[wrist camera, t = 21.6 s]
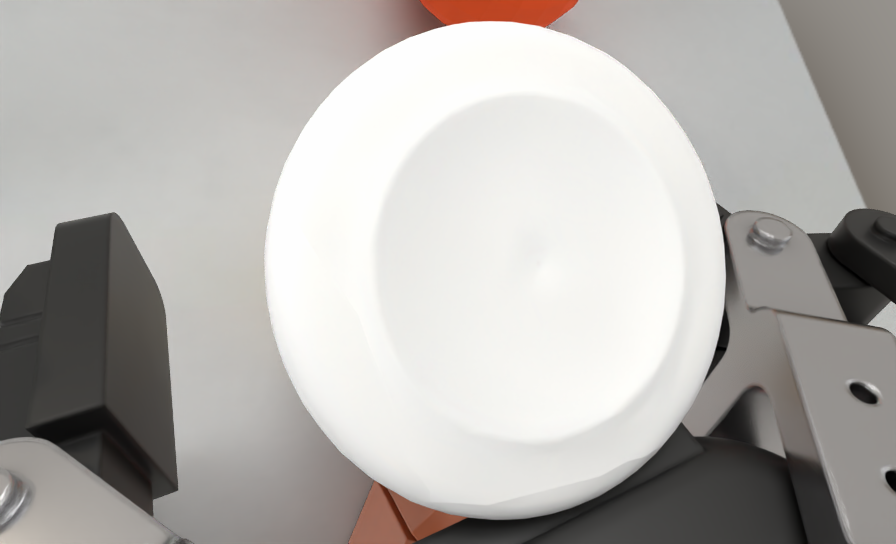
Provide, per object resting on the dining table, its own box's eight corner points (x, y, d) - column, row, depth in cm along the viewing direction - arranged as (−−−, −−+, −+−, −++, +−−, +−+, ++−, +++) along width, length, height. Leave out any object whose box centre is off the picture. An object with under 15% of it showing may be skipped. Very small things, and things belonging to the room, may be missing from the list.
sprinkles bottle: (425, 237, 18) (780, 106, 5) (395, 363, 17) (709, 560, 5) (296, 201, 17) (345, -98, 4) (260, 336, 16) (181, 514, 3)
